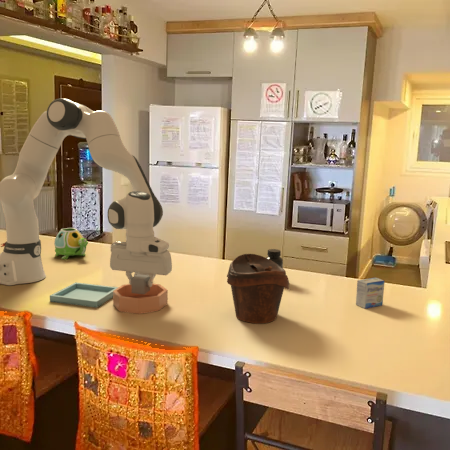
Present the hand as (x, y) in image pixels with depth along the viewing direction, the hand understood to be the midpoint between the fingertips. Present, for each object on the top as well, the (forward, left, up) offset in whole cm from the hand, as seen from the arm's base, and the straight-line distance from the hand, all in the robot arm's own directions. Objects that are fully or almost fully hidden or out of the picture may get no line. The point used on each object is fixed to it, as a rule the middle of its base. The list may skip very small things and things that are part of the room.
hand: (140, 285), depth 159 cm
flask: (-12, +27, -6) cm, 30 cm away
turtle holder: (-54, +45, -6) cm, 71 cm away
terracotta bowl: (0, 0, -6) cm, 6 cm away
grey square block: (0, 0, -2) cm, 2 cm away
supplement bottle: (+36, +39, -6) cm, 53 cm away
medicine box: (+71, +24, -6) cm, 75 cm away
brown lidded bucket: (+38, +2, -6) cm, 38 cm away
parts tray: (-20, 0, -6) cm, 21 cm away
